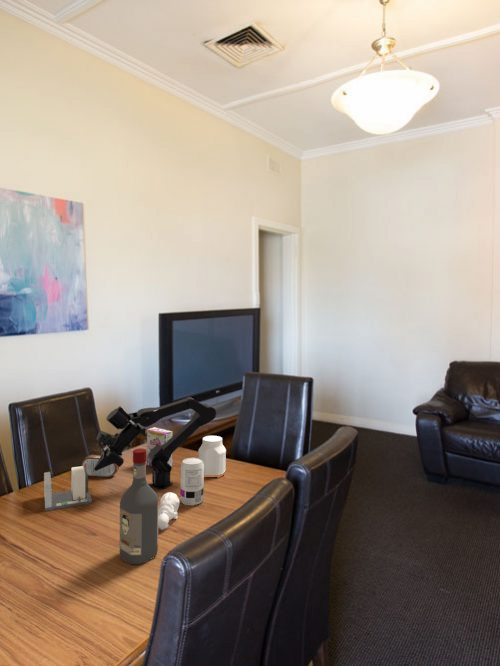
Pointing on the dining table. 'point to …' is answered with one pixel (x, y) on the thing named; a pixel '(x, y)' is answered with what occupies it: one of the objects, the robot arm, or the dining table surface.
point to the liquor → (139, 516)
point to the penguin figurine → (167, 509)
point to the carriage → (79, 483)
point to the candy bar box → (157, 440)
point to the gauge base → (60, 496)
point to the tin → (104, 472)
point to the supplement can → (192, 481)
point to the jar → (213, 455)
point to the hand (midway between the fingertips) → (94, 469)
